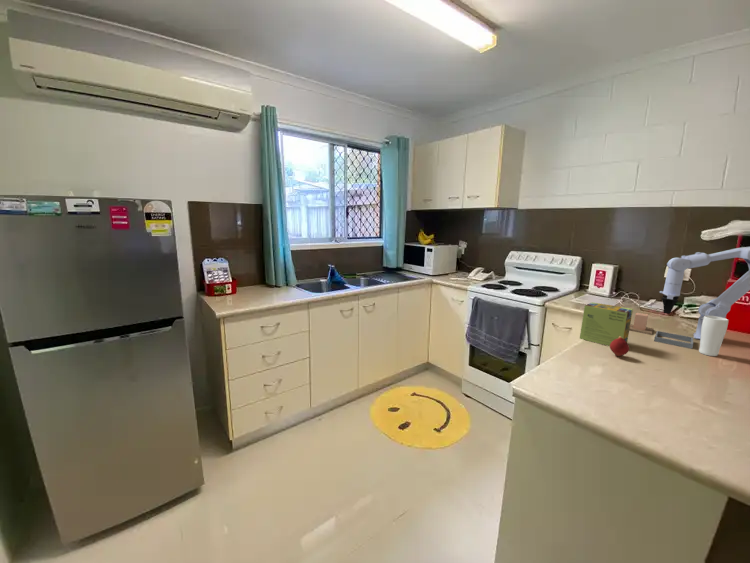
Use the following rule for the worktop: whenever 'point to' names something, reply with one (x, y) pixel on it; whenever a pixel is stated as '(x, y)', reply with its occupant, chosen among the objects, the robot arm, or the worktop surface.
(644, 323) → the block
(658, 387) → the worktop surface
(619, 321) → the protein box
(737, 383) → the worktop surface
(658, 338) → the square frame
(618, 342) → the pomegranate
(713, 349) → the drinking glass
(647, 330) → the board
